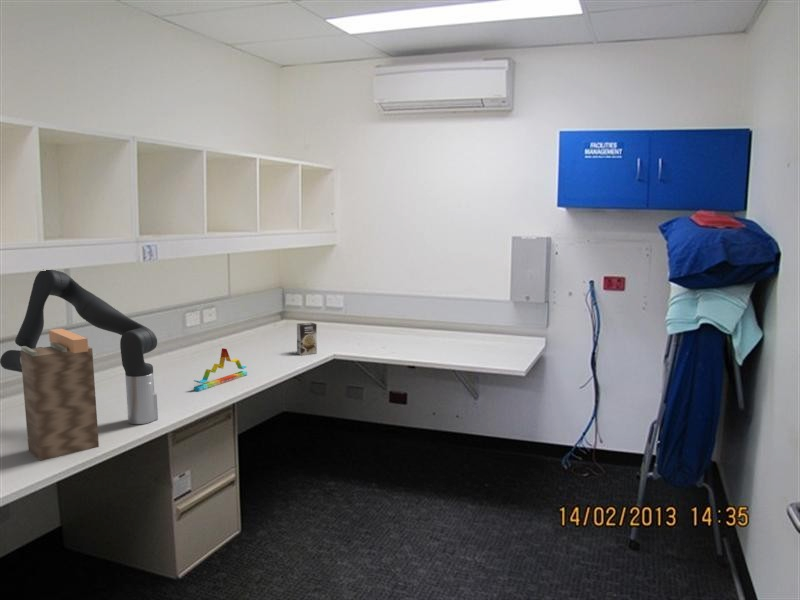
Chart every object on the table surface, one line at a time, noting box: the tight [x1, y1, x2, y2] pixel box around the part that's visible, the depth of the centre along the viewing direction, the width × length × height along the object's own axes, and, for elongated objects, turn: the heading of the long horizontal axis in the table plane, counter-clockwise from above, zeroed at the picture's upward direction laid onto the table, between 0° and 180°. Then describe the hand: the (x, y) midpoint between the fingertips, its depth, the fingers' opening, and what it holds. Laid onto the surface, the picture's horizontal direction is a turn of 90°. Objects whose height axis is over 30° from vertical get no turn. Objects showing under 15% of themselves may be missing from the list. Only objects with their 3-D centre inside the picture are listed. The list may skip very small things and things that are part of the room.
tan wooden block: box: [48, 327, 89, 353], centre depth 203 cm, size 4×24×4 cm, turn 44°
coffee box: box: [296, 322, 318, 356], centre depth 339 cm, size 9×6×16 cm
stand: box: [19, 342, 100, 462], centre depth 201 cm, size 17×12×33 cm
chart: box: [193, 348, 248, 392], centre depth 281 cm, size 30×3×15 cm, turn 153°
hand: (56, 355), depth 214 cm, fingers open, 8 cm apart
